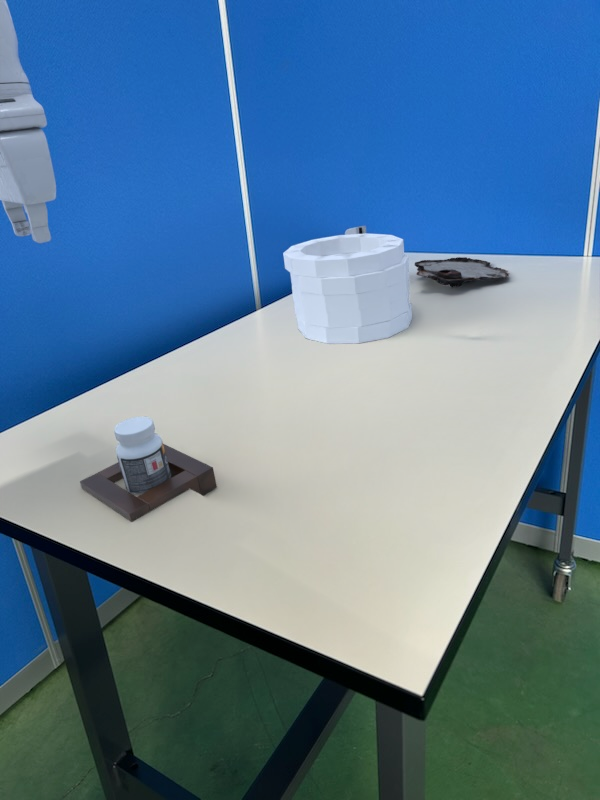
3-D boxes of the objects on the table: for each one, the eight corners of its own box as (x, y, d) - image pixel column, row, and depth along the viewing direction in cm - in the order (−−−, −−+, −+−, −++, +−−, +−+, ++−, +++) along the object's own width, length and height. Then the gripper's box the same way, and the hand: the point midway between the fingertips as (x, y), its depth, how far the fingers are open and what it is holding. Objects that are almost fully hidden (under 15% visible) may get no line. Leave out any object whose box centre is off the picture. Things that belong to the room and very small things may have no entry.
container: (271, 332, 132) (260, 256, 125) (342, 301, 146) (336, 231, 139) (363, 351, 115) (357, 265, 108) (434, 314, 130) (432, 236, 123)
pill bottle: (183, 488, 79) (167, 419, 75) (148, 512, 75) (129, 440, 71) (154, 477, 82) (137, 410, 78) (119, 499, 78) (99, 430, 74)
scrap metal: (428, 264, 169) (397, 288, 144) (430, 249, 167) (399, 271, 142) (514, 276, 161) (498, 304, 136) (517, 261, 159) (502, 286, 134)
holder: (135, 535, 71) (129, 514, 70) (85, 501, 79) (79, 481, 78) (217, 487, 78) (213, 467, 77) (164, 460, 86) (159, 441, 85)
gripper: (-47, 125, 78) (-11, 237, 83) (-16, 113, 62) (26, 252, 68) (6, 119, 81) (37, 227, 86) (48, 106, 65) (83, 240, 71)
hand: (33, 238), depth 77 cm, fingers open, 8 cm apart
